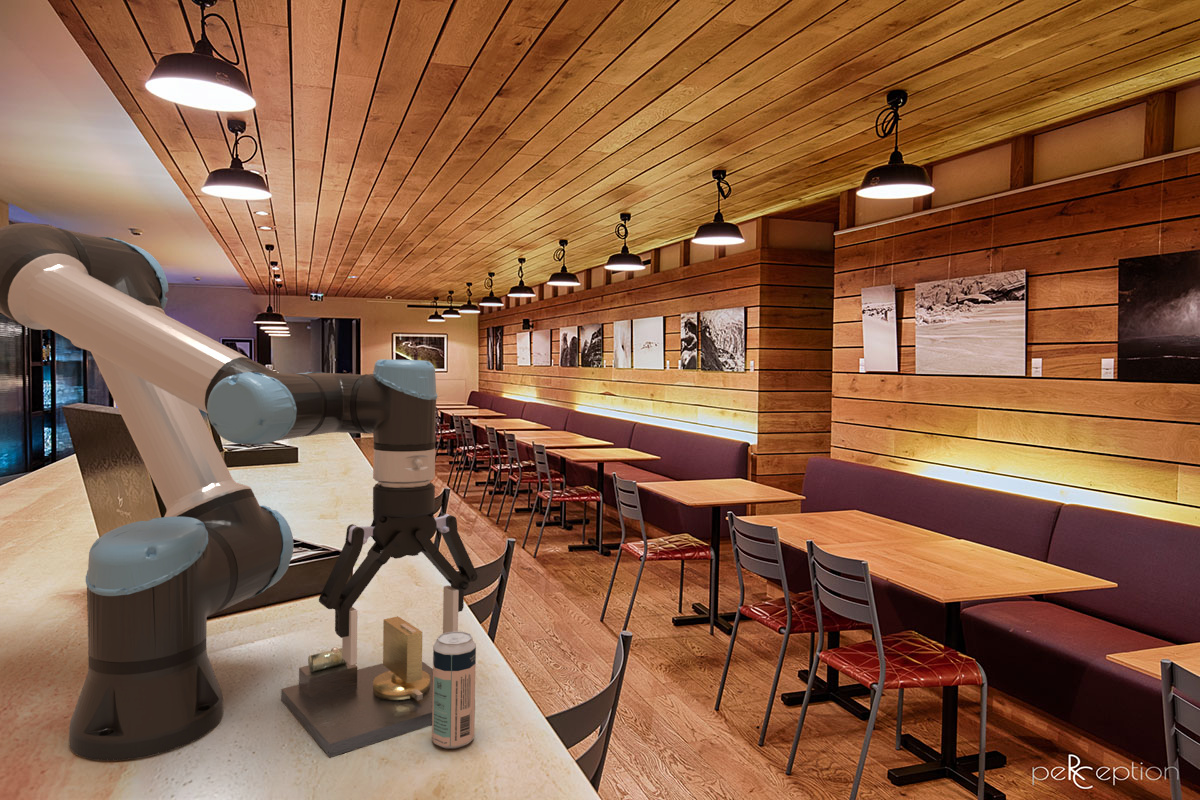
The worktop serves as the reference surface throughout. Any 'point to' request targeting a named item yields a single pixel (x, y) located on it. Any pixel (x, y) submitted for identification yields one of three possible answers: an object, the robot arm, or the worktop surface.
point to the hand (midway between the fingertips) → (402, 648)
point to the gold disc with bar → (401, 662)
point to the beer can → (453, 690)
